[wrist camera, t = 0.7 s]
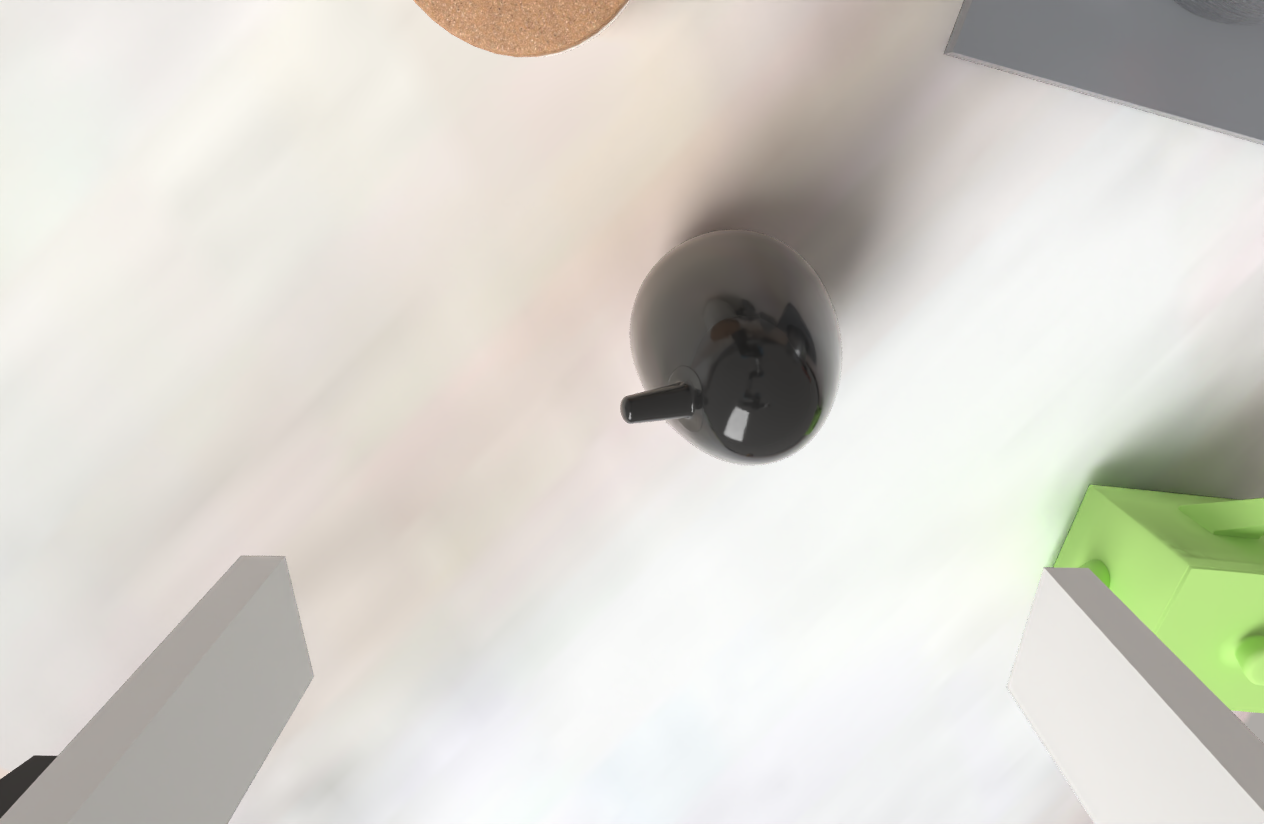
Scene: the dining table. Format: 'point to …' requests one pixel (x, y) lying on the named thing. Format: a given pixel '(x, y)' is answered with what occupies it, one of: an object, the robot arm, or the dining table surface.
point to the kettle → (1183, 577)
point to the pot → (1226, 10)
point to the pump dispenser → (735, 347)
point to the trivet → (1125, 56)
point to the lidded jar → (524, 23)
